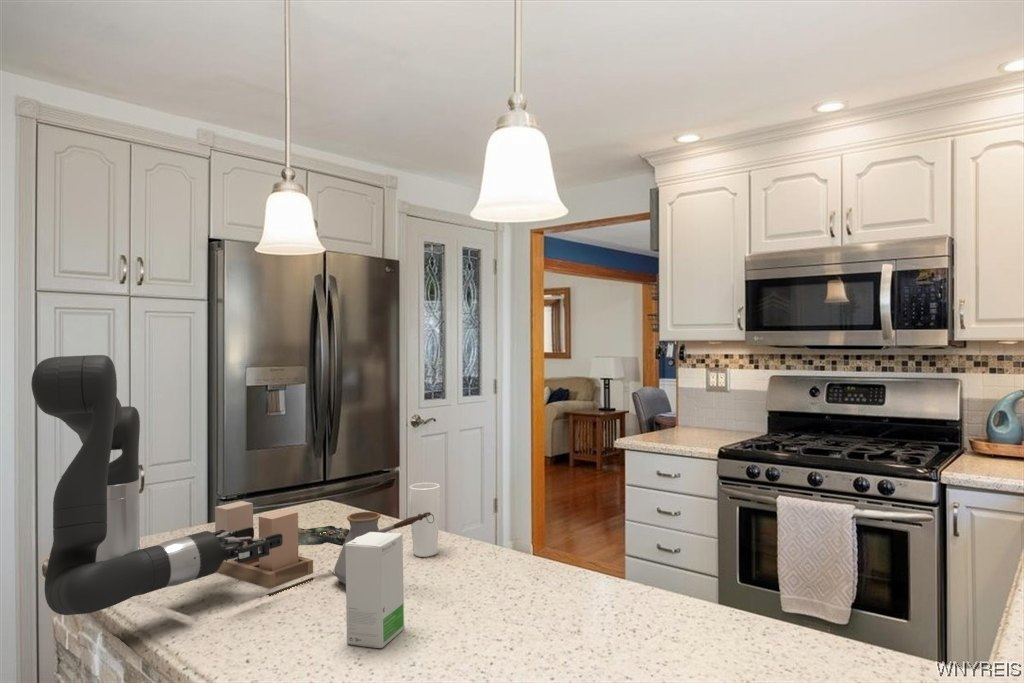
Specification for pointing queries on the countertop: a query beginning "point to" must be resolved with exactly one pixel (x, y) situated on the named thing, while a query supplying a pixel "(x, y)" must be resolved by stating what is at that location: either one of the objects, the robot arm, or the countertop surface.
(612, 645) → the countertop surface
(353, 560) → the skincare box
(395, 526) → the coffee pot
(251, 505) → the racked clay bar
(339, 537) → the decorative rock
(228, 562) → the wooden divided tray
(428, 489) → the drinking glass
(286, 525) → the clay bar
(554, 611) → the countertop surface
